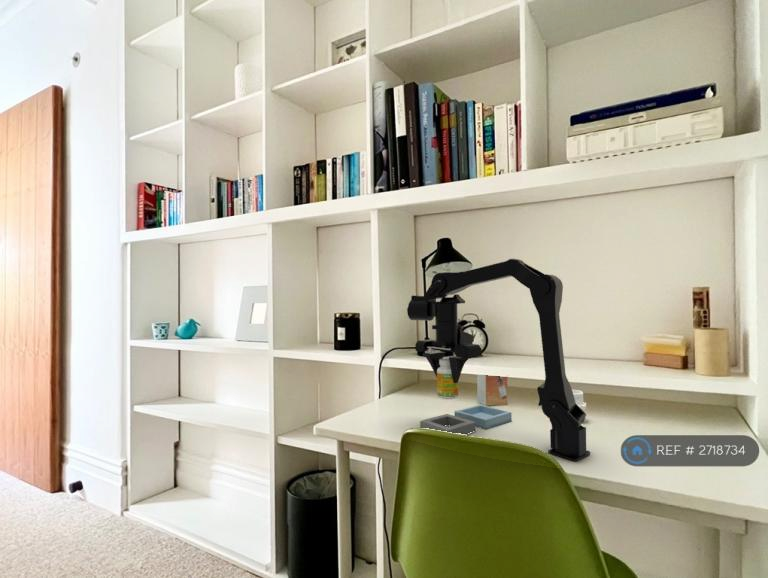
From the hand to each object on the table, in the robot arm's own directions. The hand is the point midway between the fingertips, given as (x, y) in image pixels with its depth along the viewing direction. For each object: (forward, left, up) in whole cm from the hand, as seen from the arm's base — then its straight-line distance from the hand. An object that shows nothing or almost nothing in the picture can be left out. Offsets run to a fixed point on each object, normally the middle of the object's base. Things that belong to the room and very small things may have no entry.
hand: (447, 381), depth 111 cm
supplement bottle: (0, 0, -4) cm, 4 cm away
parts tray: (0, -14, -13) cm, 19 cm away
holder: (0, 0, -13) cm, 13 cm away
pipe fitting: (-16, -33, -13) cm, 39 cm away
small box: (+10, -31, -13) cm, 35 cm away
